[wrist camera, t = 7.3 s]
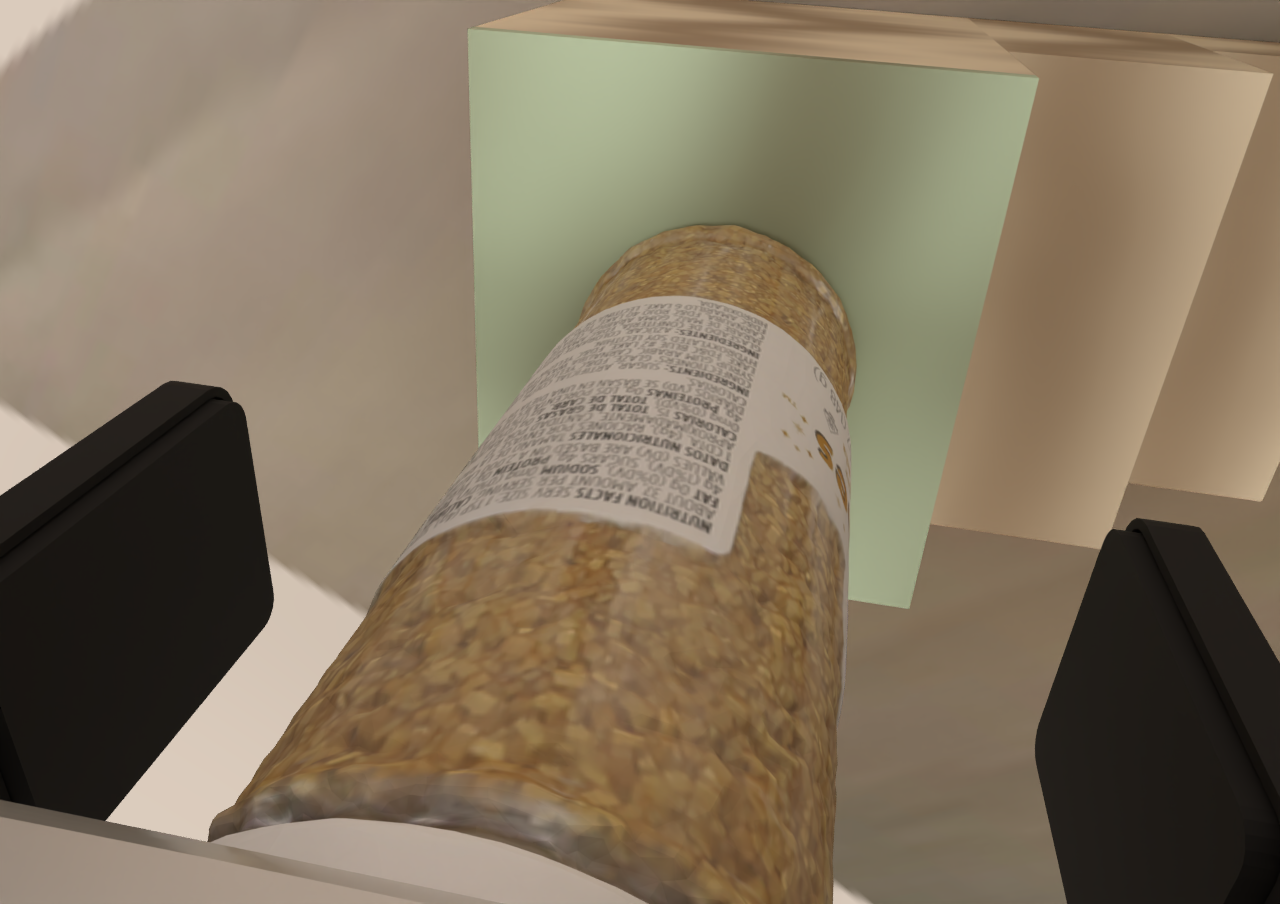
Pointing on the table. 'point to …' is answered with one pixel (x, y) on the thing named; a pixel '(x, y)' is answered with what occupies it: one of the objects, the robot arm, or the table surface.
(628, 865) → the spice jar
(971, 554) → the table surface
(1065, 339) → the step stand
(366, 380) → the table surface
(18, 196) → the table surface
